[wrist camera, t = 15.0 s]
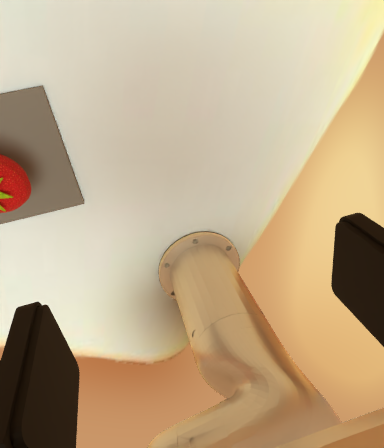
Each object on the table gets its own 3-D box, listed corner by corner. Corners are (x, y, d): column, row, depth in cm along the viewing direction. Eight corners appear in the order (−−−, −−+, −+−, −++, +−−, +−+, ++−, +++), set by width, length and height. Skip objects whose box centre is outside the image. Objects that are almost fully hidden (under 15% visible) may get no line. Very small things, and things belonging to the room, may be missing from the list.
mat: (84, 201, 43) (83, 203, 43) (-31, 229, 41) (-33, 232, 41) (42, 85, 36) (41, 86, 36) (-99, 113, 34) (-102, 114, 34)
